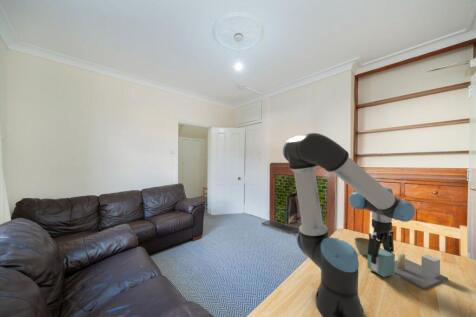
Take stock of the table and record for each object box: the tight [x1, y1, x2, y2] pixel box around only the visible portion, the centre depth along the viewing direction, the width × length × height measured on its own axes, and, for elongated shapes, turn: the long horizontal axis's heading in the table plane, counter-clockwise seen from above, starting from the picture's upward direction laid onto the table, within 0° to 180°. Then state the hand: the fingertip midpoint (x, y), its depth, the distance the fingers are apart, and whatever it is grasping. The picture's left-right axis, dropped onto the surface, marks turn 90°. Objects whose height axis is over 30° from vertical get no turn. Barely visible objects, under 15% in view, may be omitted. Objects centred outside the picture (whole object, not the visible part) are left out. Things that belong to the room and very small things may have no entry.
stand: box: [393, 252, 449, 290], centre depth 84 cm, size 18×16×8 cm
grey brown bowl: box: [354, 237, 369, 257], centre depth 101 cm, size 10×10×7 cm
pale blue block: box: [366, 247, 396, 278], centre depth 84 cm, size 7×7×9 cm
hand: (380, 268), depth 84 cm, fingers closed on pale blue block, 7 cm apart
